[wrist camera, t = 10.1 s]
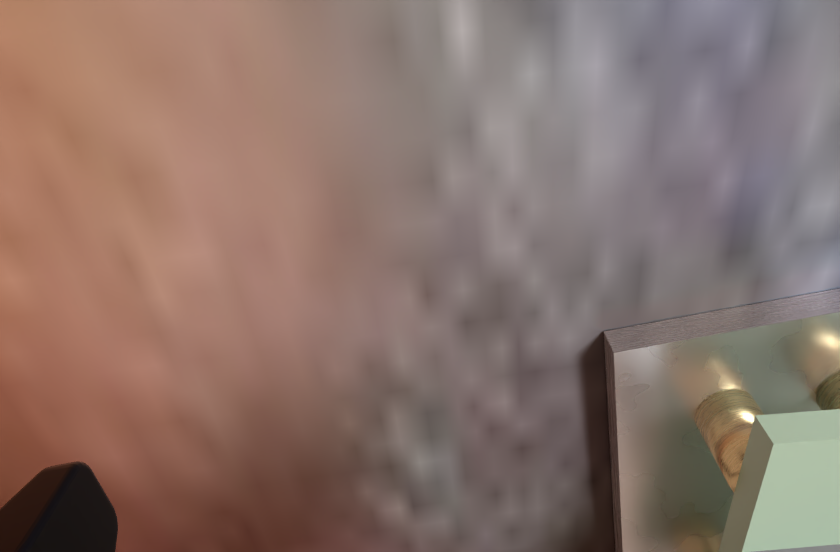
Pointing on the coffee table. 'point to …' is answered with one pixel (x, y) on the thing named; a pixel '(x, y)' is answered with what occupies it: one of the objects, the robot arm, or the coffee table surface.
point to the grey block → (788, 486)
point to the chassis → (707, 409)
